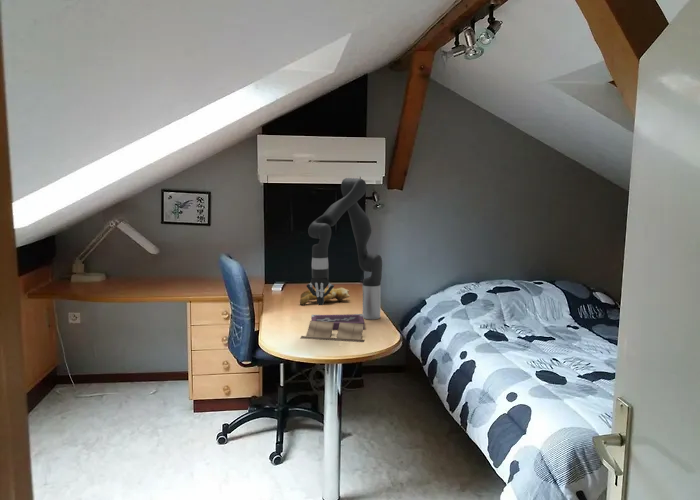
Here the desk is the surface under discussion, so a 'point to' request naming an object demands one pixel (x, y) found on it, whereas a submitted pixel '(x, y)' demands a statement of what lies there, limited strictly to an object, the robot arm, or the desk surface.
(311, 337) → the strip
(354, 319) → the purple gear tray
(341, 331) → the plank
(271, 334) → the desk surface
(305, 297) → the toy
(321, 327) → the plank
